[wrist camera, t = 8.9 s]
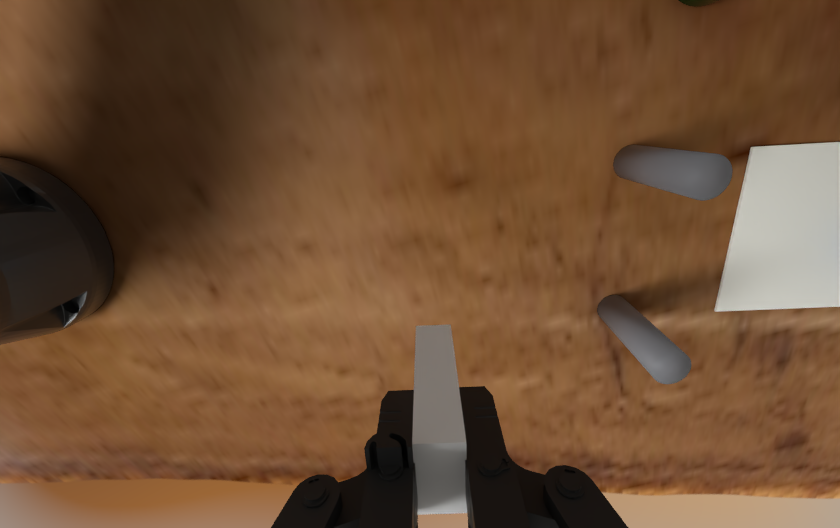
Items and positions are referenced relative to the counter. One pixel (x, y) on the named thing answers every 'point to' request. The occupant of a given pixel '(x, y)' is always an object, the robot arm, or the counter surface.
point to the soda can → (697, 2)
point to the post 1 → (675, 170)
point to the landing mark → (785, 231)
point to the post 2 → (644, 340)
